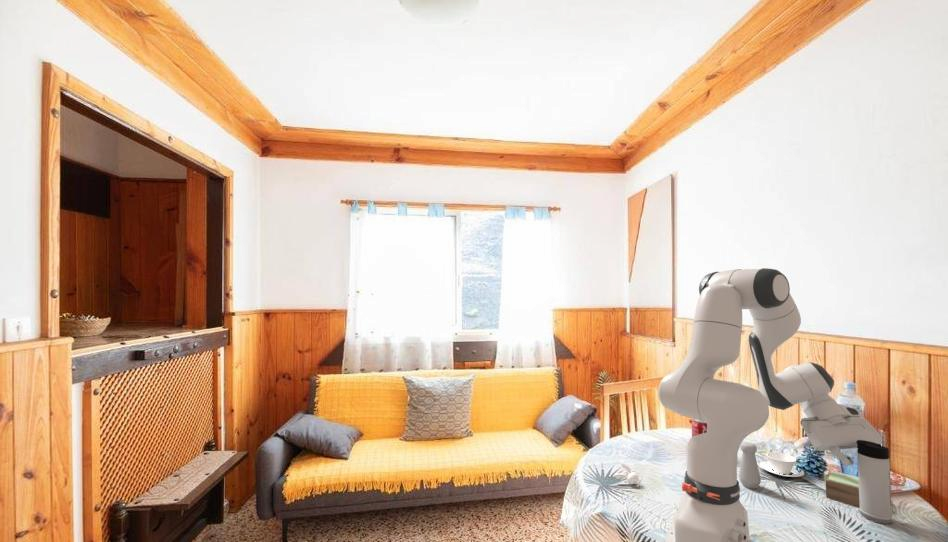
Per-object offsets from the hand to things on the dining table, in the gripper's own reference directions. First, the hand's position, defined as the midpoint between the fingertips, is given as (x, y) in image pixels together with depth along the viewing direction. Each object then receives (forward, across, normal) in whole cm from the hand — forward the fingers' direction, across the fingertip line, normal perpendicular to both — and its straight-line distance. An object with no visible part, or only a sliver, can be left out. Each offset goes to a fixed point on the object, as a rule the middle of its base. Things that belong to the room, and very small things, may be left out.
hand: (864, 463), depth 113 cm
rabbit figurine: (-10, -55, +29) cm, 63 cm away
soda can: (-22, -15, +42) cm, 49 cm away
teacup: (-8, -1, +28) cm, 29 cm away
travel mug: (+11, 0, +8) cm, 14 cm away
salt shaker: (-4, -18, +23) cm, 30 cm away
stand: (+4, +4, +15) cm, 16 cm away
